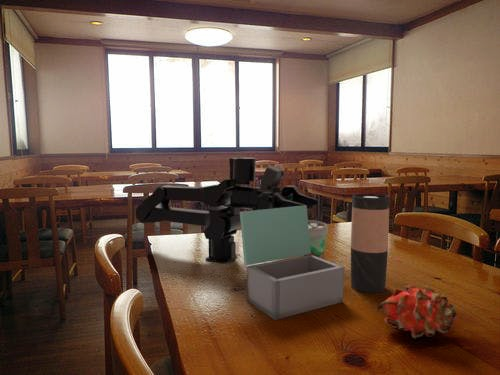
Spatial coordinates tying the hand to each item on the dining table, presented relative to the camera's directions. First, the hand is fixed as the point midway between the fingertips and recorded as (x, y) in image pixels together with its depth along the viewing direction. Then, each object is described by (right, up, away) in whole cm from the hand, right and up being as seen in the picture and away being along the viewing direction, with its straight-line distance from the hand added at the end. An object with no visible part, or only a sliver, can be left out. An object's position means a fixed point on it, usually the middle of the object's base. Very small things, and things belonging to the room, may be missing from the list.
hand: (312, 204), depth 92 cm
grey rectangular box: (-6, -18, -15) cm, 25 cm away
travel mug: (+11, -18, -8) cm, 22 cm away
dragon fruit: (+12, -20, -28) cm, 37 cm away
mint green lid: (-9, -5, -12) cm, 16 cm away
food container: (+3, -16, +10) cm, 19 cm away
